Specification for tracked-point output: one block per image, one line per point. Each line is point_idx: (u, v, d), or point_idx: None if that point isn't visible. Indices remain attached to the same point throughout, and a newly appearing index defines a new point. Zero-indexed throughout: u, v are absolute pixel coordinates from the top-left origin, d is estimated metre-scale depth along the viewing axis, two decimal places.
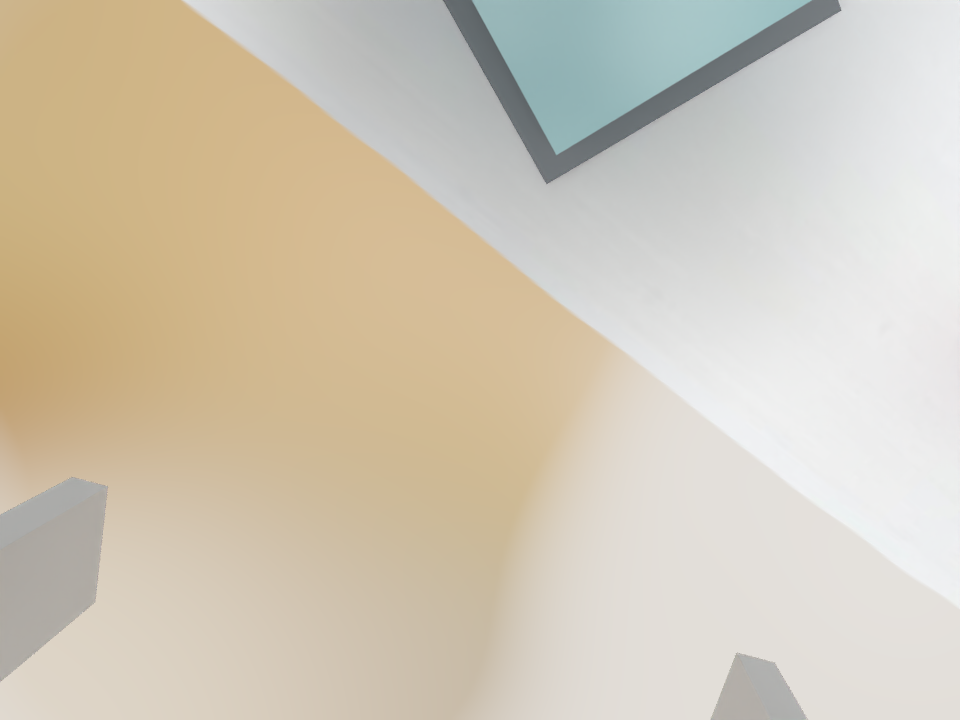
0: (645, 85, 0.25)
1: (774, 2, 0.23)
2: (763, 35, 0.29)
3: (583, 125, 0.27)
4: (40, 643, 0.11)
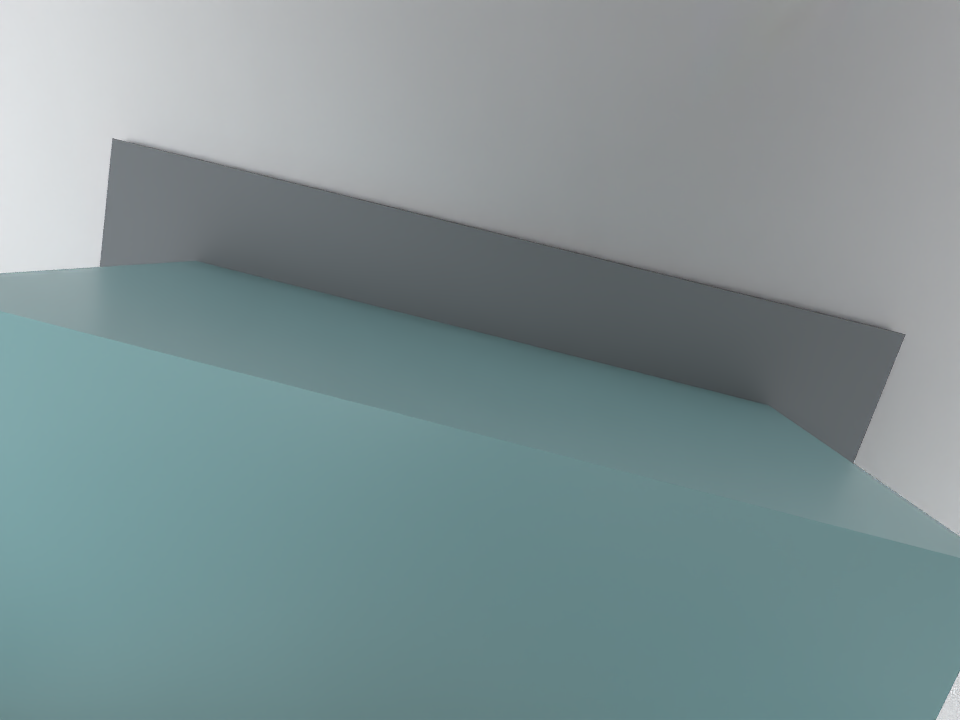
0: None
1: None
2: None
3: None
4: None
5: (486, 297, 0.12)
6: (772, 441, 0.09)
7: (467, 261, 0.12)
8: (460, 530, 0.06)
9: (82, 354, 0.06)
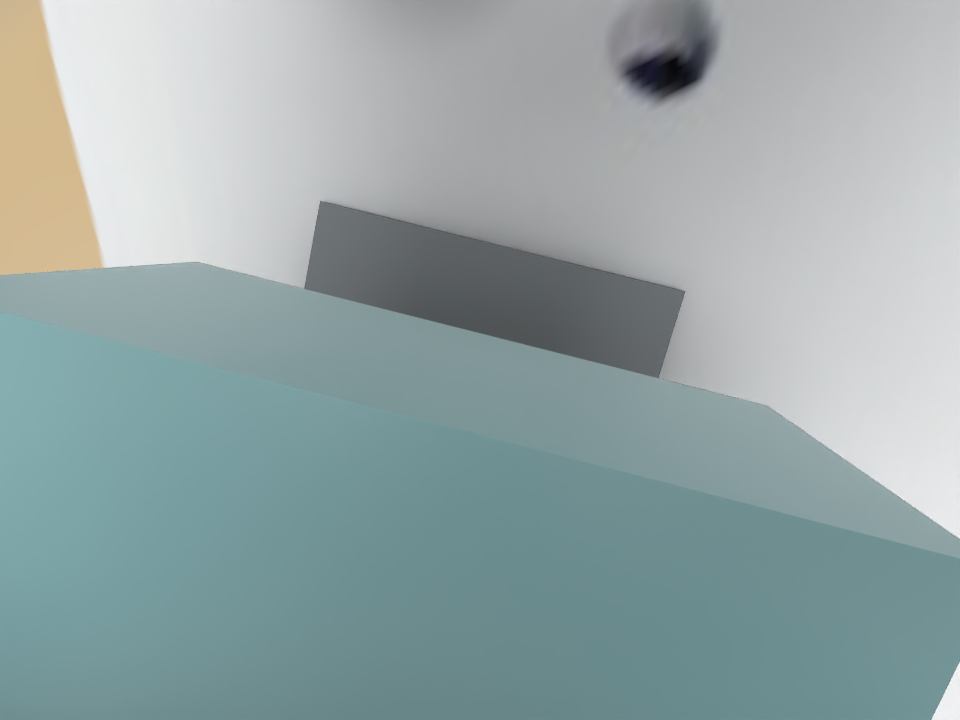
0: None
1: None
2: None
3: None
4: None
5: (494, 275, 0.25)
6: (770, 441, 0.09)
7: (486, 258, 0.25)
8: (459, 529, 0.06)
9: (85, 355, 0.06)
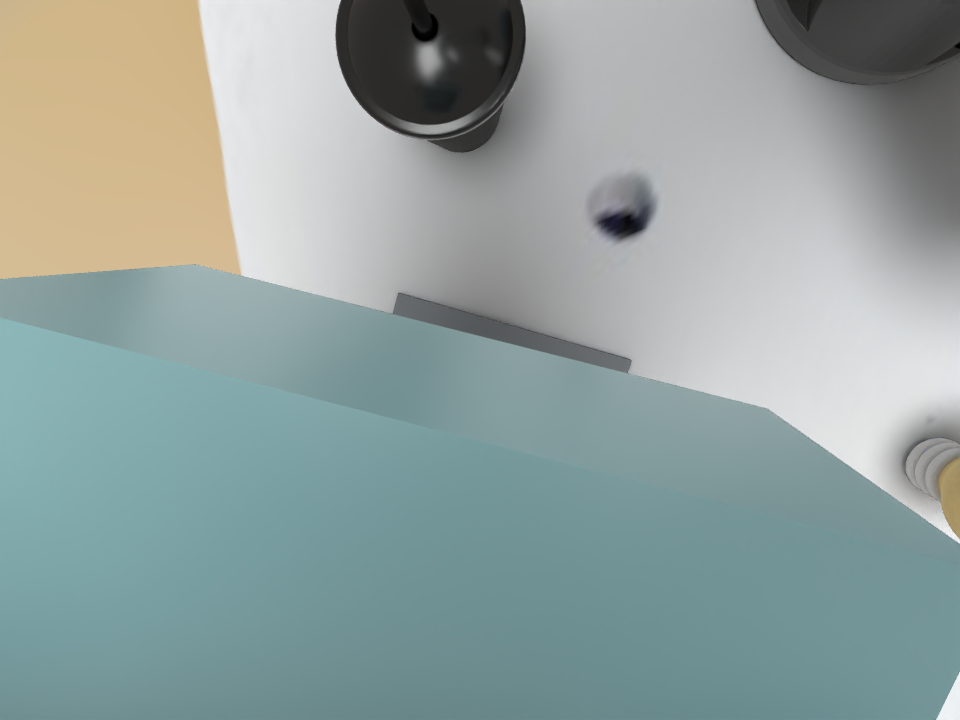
0: None
1: None
2: None
3: None
4: None
5: None
6: (771, 445, 0.09)
7: (504, 334, 0.39)
8: (459, 537, 0.06)
9: (83, 361, 0.06)
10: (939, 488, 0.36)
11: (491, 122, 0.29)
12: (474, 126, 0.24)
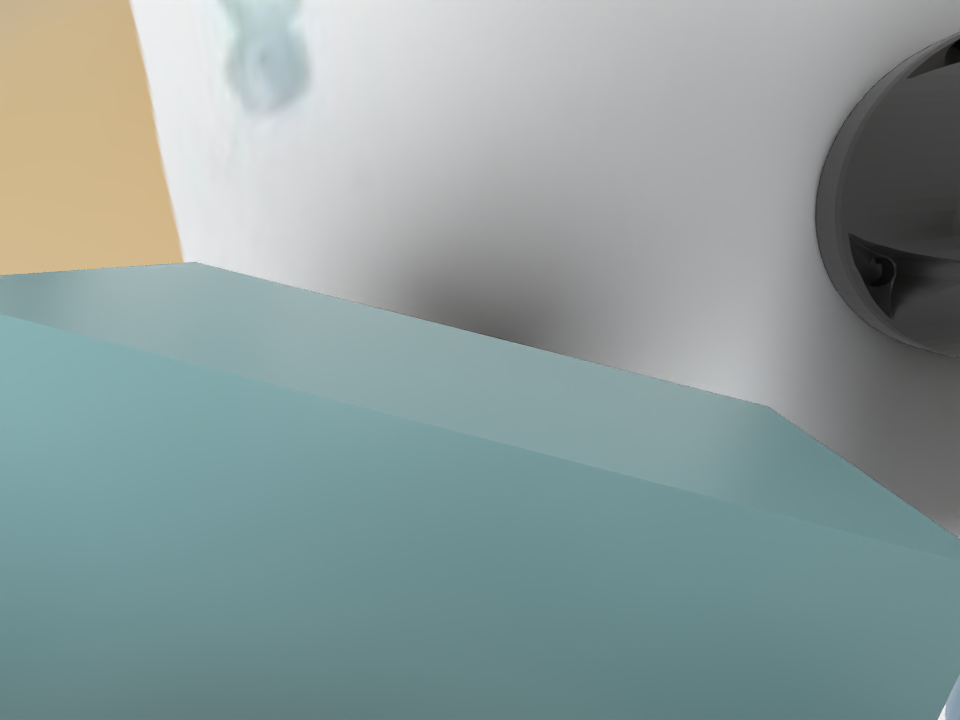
0: None
1: None
2: None
3: None
4: None
5: None
6: (772, 443, 0.09)
7: None
8: (459, 533, 0.06)
9: (81, 357, 0.06)
10: None
11: None
12: None
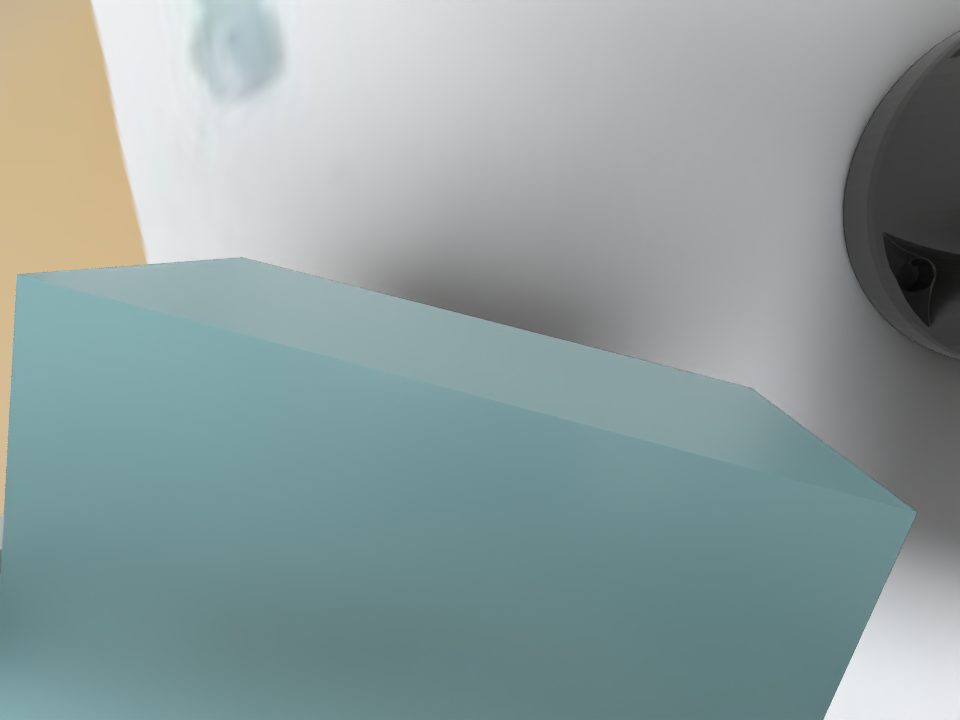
0: None
1: None
2: None
3: None
4: None
5: None
6: (743, 415, 0.10)
7: None
8: (470, 477, 0.08)
9: (170, 332, 0.08)
10: None
11: None
12: None
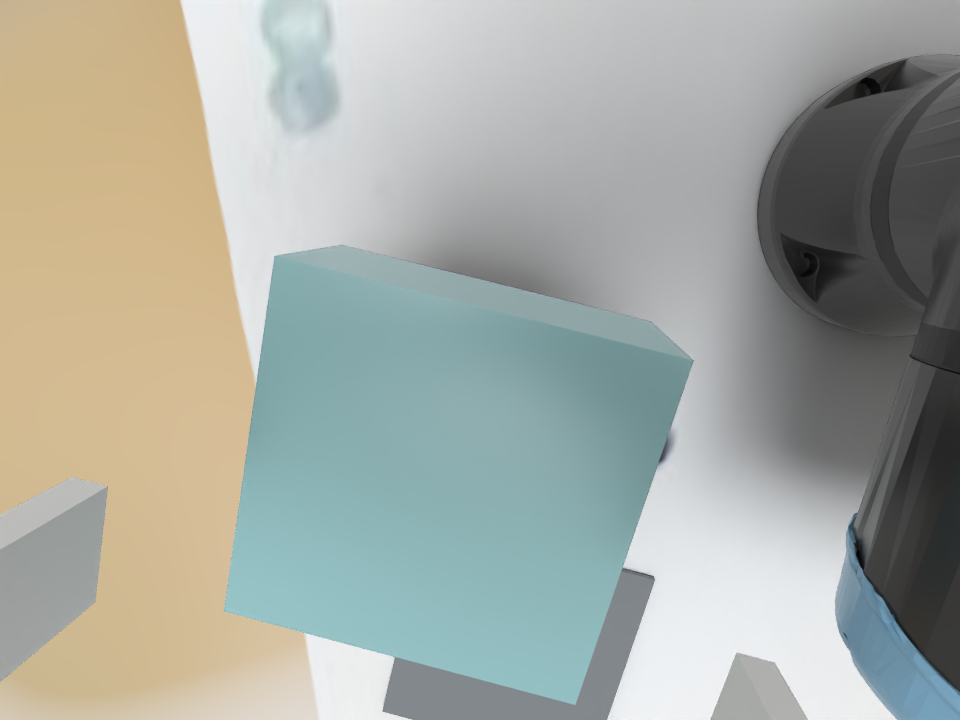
0: (363, 633, 0.19)
1: (526, 674, 0.19)
2: None
3: (274, 611, 0.19)
4: (40, 643, 0.11)
5: None
6: (633, 329, 0.19)
7: None
8: (492, 350, 0.17)
9: (350, 283, 0.16)
10: None
11: None
12: None
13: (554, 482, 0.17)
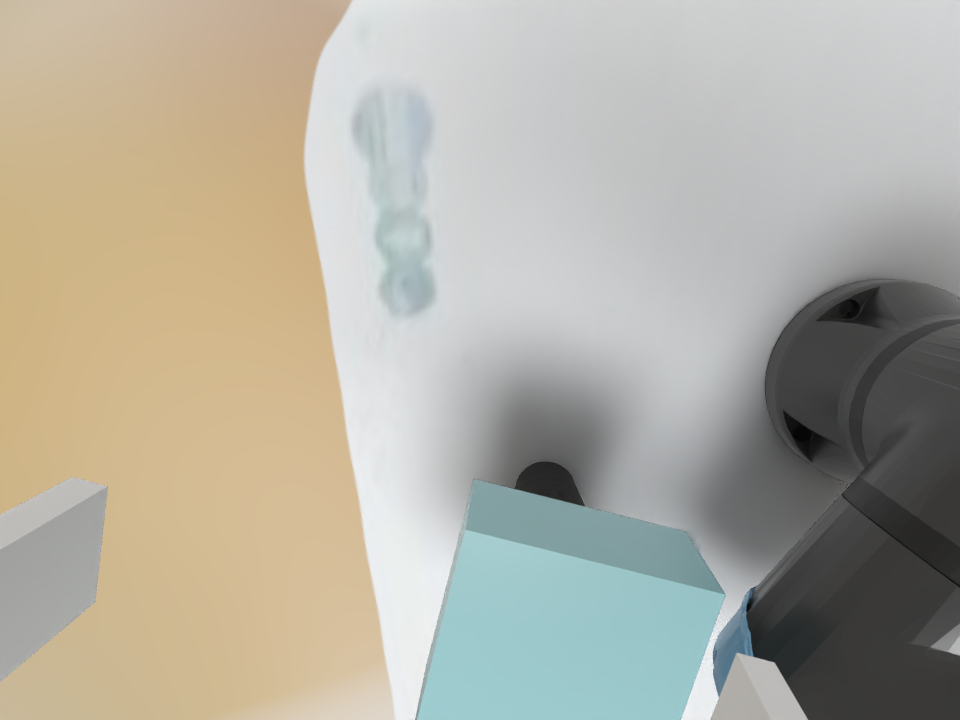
0: None
1: None
2: None
3: None
4: (40, 643, 0.11)
5: None
6: (680, 554, 0.29)
7: None
8: (600, 586, 0.27)
9: (512, 546, 0.26)
10: None
11: None
12: None
13: (637, 667, 0.27)
